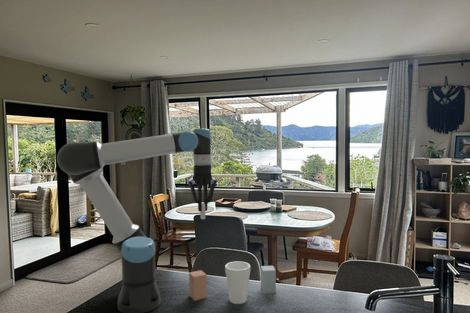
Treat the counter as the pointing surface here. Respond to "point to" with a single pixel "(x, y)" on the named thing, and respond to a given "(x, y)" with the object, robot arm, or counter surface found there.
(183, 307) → the counter surface
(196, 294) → the terracotta block
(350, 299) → the counter surface
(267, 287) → the slate block
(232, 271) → the foam cup
